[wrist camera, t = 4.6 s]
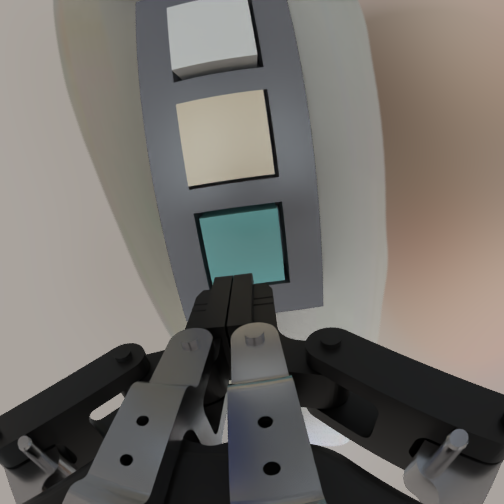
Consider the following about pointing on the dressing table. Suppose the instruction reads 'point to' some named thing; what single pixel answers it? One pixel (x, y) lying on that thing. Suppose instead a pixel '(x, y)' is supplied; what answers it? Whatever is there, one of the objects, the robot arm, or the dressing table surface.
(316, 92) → the dressing table surface
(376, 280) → the dressing table surface
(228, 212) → the teal key
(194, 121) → the sand key
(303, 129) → the grey board with slots
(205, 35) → the grey key
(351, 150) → the dressing table surface
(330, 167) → the dressing table surface
